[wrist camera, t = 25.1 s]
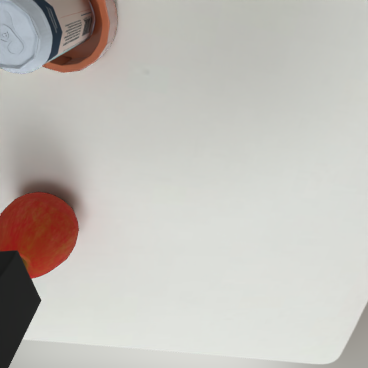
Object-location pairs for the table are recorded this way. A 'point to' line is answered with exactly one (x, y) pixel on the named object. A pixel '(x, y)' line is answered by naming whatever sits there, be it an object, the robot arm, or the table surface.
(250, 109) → the table surface
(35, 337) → the table surface
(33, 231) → the apple
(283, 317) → the table surface
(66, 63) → the holder
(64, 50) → the beer can
